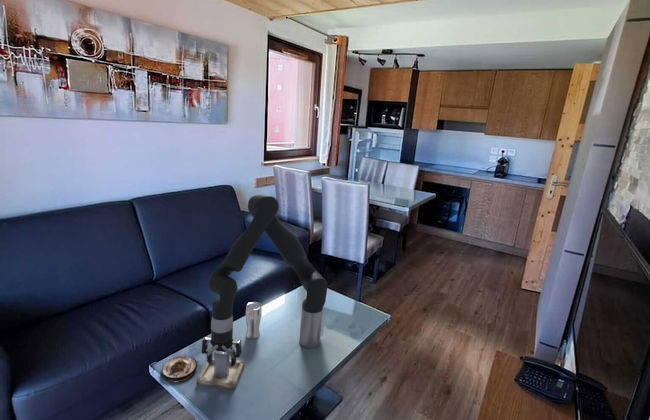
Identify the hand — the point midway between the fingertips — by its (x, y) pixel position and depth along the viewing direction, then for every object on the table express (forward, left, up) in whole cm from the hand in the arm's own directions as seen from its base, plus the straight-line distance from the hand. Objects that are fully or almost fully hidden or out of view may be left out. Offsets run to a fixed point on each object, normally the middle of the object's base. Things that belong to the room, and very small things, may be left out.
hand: (221, 363), depth 125 cm
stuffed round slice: (+16, 0, -6) cm, 17 cm away
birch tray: (0, 0, -5) cm, 5 cm away
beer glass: (-5, -26, -5) cm, 27 cm away
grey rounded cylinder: (0, 0, -4) cm, 4 cm away
